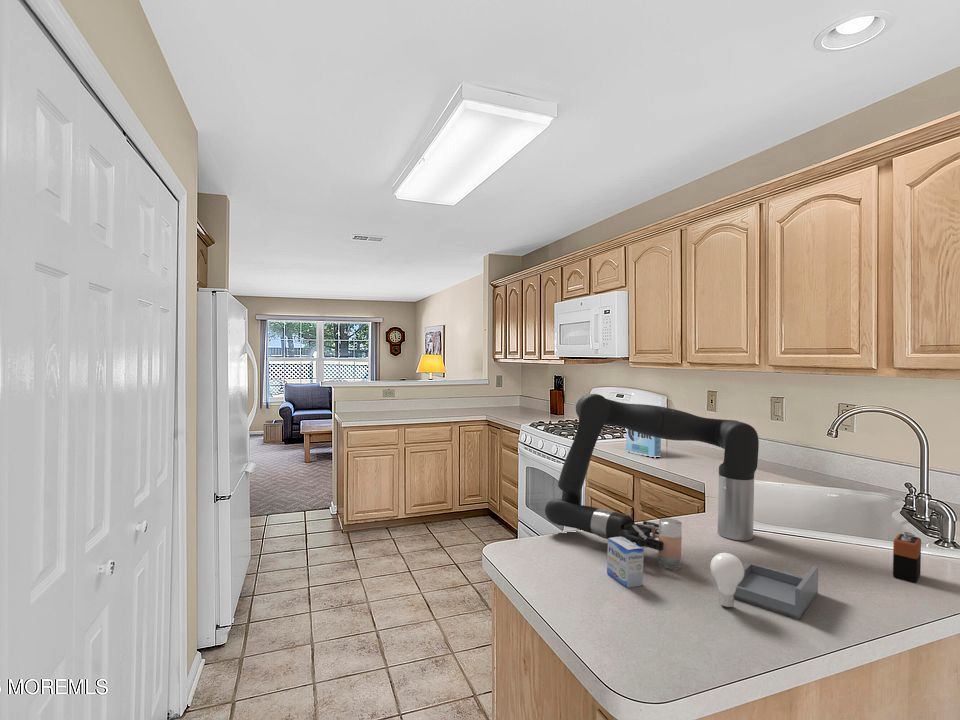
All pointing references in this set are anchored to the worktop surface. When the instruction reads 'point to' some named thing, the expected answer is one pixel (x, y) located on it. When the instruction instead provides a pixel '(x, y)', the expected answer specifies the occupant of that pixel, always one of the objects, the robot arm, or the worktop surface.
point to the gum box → (643, 443)
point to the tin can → (670, 544)
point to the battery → (907, 557)
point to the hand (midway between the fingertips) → (670, 542)
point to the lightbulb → (727, 576)
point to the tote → (778, 590)
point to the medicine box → (625, 561)
